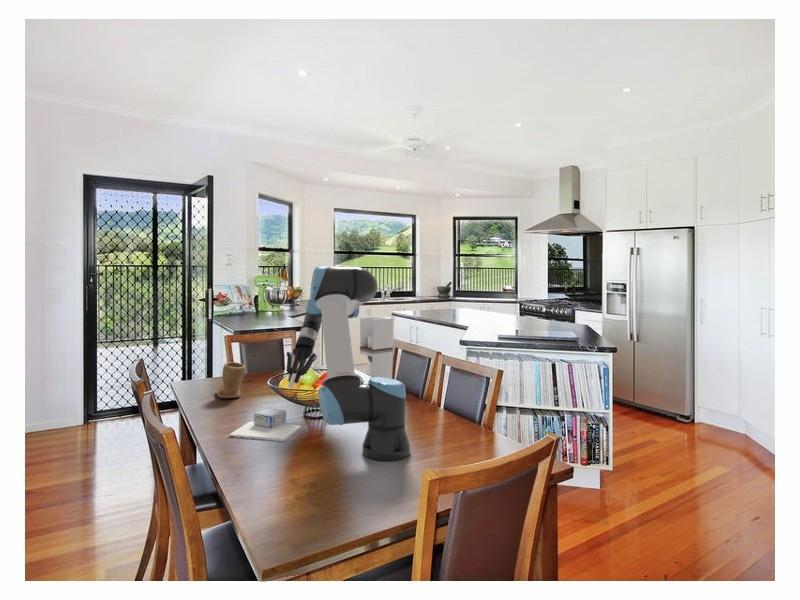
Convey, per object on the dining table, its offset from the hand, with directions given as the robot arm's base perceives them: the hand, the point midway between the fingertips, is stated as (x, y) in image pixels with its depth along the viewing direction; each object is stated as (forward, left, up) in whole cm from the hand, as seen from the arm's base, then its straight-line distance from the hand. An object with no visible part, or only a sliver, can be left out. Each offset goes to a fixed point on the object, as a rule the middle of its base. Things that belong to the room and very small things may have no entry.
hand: (290, 389), depth 185 cm
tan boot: (+20, +37, -10) cm, 43 cm away
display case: (+44, -24, -10) cm, 51 cm away
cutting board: (-20, 0, -10) cm, 23 cm away
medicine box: (-9, +1, -7) cm, 12 cm away
